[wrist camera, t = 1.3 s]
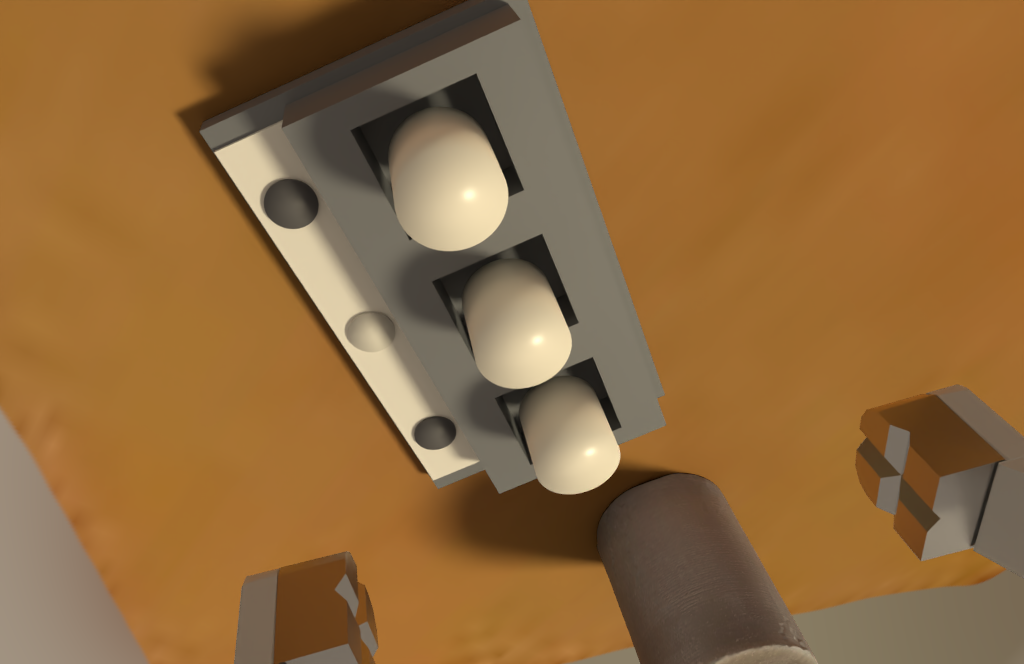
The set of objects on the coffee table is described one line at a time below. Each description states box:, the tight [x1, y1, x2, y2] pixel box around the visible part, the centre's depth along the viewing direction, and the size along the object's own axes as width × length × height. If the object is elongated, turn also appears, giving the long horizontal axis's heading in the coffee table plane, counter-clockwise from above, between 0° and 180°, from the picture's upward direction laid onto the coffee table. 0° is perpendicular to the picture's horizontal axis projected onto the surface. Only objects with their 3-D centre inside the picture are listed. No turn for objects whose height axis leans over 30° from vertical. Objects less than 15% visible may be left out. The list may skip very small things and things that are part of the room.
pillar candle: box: [597, 473, 818, 664], centre depth 49 cm, size 10×10×15 cm
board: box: [199, 0, 666, 494], centre depth 39 cm, size 15×25×4 cm, turn 21°
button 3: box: [519, 376, 620, 494], centre depth 41 cm, size 4×4×4 cm
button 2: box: [462, 258, 572, 389], centre depth 36 cm, size 4×4×4 cm
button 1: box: [388, 106, 508, 251], centre depth 32 cm, size 4×4×4 cm
